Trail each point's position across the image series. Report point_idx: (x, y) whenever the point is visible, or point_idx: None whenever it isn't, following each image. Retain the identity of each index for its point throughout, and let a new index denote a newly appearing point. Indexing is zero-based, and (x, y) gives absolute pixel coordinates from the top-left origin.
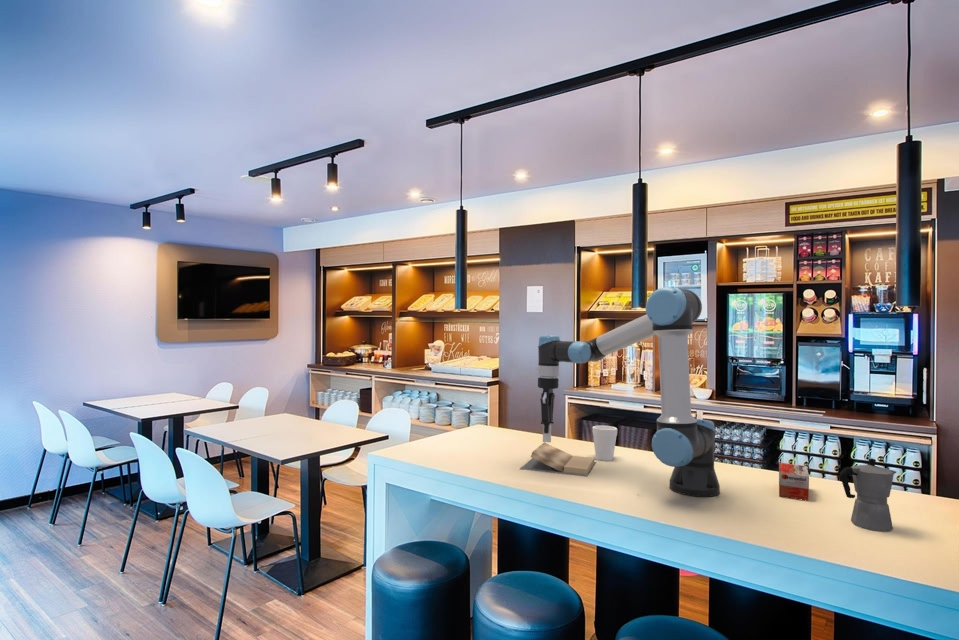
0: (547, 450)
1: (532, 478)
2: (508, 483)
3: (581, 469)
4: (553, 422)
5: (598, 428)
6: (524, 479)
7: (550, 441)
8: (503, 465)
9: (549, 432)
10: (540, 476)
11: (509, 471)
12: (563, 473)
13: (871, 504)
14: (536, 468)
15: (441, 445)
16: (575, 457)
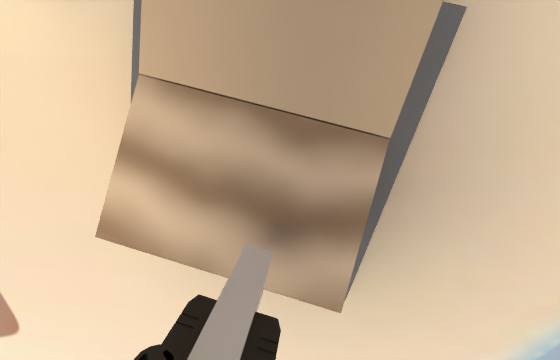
0: (216, 222)
1: (437, 257)
2: (509, 337)
3: (426, 36)
4: (148, 352)
5: None
6: (452, 285)
7: (258, 250)
8: None
9: (255, 309)
10: (404, 227)
11: (340, 321)
12: (403, 135)
13: None
14: None
15: None
16: (172, 62)
